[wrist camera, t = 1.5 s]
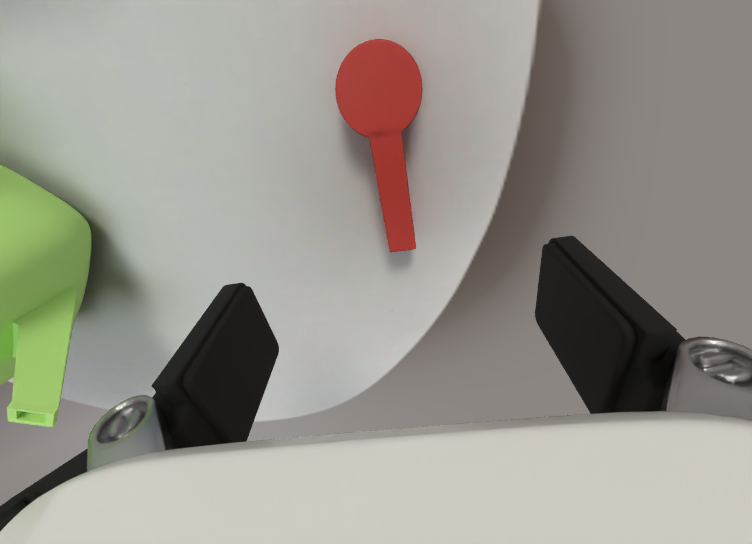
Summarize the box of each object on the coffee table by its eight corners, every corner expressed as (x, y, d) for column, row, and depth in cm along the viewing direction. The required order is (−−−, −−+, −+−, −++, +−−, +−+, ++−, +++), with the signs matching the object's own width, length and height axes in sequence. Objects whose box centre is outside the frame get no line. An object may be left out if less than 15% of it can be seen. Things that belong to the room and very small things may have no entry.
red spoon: (371, 241, 21) (370, 255, 20) (331, 51, 15) (325, 50, 14) (432, 232, 21) (436, 246, 19) (414, 32, 15) (417, 29, 13)
